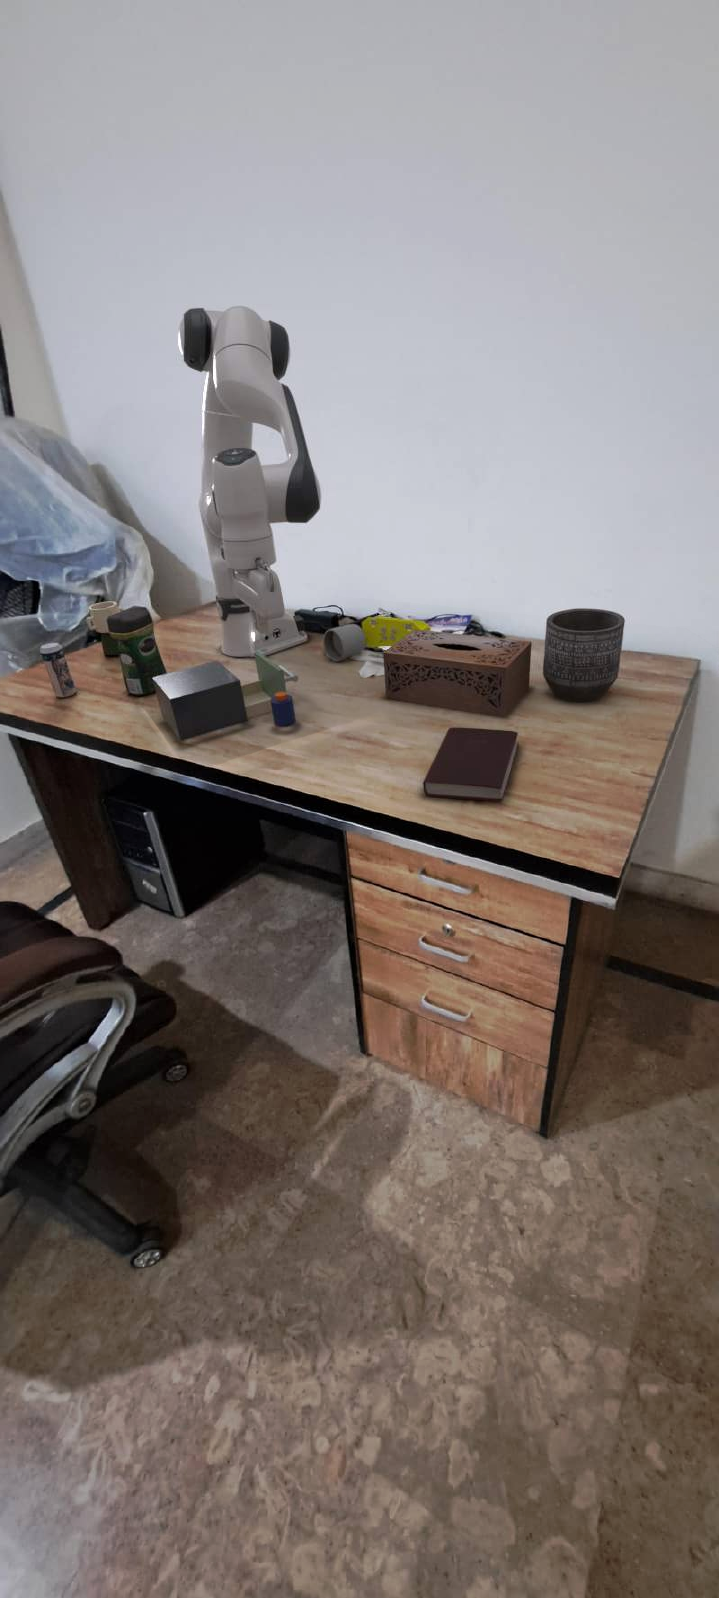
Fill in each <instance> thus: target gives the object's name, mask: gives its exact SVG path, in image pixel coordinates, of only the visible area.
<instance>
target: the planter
mask: <svg viewBox="0 0 719 1598" xmlns="http://www.w3.org/2000/svg"><path fill="white" fill-rule="evenodd" d="M625 620H626V619H625V618H624V616H623V615H622V614H620V613H618V612H615V611H613V610H612V611H611V610H606V609H602V608H601V609H600V608H599V609H598V608H587V607H585V608H584V607H583V608H581V607H579V608H570V609H564V610H560V611H557V612H553V613H551V614H550V615H549V616H548V617H547V618H546V623H545V634H544V635H545V637H544V652H543V653H544V654H543V661H542V662H543V664H542V676H543V677H544V680H545V682H546V684H547V686H548V687H549V689H550V691H551V692H552V693H553V696H555V697H556V698H558V699H560V700H562V701H565V702H570V703H590V702H594V701H597V700H600V699H601V698H602V697H603V696H604V695H605V694H606V693H607V691H609V690H610V688H611V687H612V686H613V685H614V683H615V682H616V680H617V679H618V676H619V671H620V666H621V665H620V664H621V653H622V647H623V640H624V639H623V638H624V631H625V622H626V621H625Z"/></svg>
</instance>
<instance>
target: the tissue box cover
mask: <svg viewBox="0 0 719 1598" xmlns="http://www.w3.org/2000/svg"><path fill="white" fill-rule="evenodd" d="M532 644H533V643H532V641H530V640H520V639H510V638H501V637H491V636H483V635H472V634H463V633H453V632H445V631H433V630H431V631H426V630H416V629H415V630H414V631H412V632H411V633H409V634H408V635H407V636H405V637H404V638H402V639H401V640H400V641H398V642H397V643H395V644H394V645H393V646H391V647H390V648H389V649H387V650H386V651H382V657H383V671H384V686H385V699H389V700H395V701H400V702H406V703H407V702H408V703H412V704H420V705H424V706H425V705H426V706H432V707H438V708H444V709H451V710H457V711H463V712H470V713H476V714H482V715H487V716H493V717H499V718H506V716H507V715H508V713H510V712H511V710H512V709H513V708H514V707H515V706H516V705H517V703H519V701H520V700H521V698H522V697H523V696H524V695H525V694H526V693H527V692H528V690H529V689H530V679H531V678H530V677H531V659H532V658H531V657H532Z"/></svg>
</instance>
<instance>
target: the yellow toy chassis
mask: <svg viewBox="0 0 719 1598" xmlns="http://www.w3.org/2000/svg"><path fill="white" fill-rule="evenodd" d="M361 626H362V627H361V628H362V630H363V631H364V633H365V636H366V646H365V648H370V649H371V648H372V650H373V651H378V652H379V651H382V652H384V651H386V650H383V649H382V648H375V647H379V646H393V645H394V644H395V643H397V642H398V641H400V640H401V639H402V638H404V637H405V636H407V635H408V634H409V633H411V632H412V631H414V630H415V629H416V630H426V631H432V629H431V626H430V625H428V624H427V623H426V622H425V621H424V620H415V619H407V618H399V617H398V618H396V617H390V616H389V617H388V616H381V615H378V616H376V617H368V618H367V619H365V620H364V621H362V622H361Z"/></svg>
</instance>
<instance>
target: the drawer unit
mask: <svg viewBox="0 0 719 1598" xmlns="http://www.w3.org/2000/svg"><path fill="white" fill-rule="evenodd" d="M152 679H153V683H154V687H155V694H156V698H157V702H158V705H159V710H160V713H161V717H162V718H163V720H164V721H165V722H166V724H167V725H168V726H169V728H170V729H171V730H172V732H173V733H174V734H175V736H176V737H177V738H178V739H179V741H180V742H182V741H185V740H186V741H187V740H189V739H193V738H195V737H198V736H202V735H205V734H208V733H213V732H215V731H219V730H222V729H226V728H229V727H232V726H236V725H239V724H242V723H245V722H248V721H249V720H248V719H249V718H247V714H246V709H245V703H244V698H243V693H242V688H241V685H242V683H241V680H240V679H239V678H238V677H237V676H236V675H235V674H234V673H232V672H231V671H230V670H229V669H227V667H225V666H224V665H223V664H222V663H221V662H220V661H219V660H214V661H209V662H206V663H203V664H199V665H195V666H191V667H187V668H183V669H179V670H175V671H172V672H167V674H164V675H160V676H156V677H152Z"/></svg>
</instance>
